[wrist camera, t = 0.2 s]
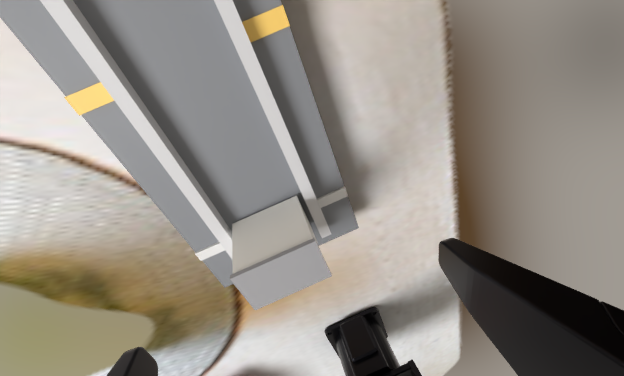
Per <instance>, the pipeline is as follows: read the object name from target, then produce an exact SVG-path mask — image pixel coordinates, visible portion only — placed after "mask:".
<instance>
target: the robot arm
mask: <svg viewBox="0 0 624 376" xmlns="http://www.w3.org/2000/svg"><path fill="white" fill-rule="evenodd" d="M439 264H440V266H441V268H442V270H443V272H444V273H445V275H446V276H447V278H448V280H449V281H450V283H451V284H452V286H453V288H454V289H455V291H456V292H457V294H458V296H459V297H460V299H461V300H462V302H463V304H464V305H465V306H466V308H467V310H468V311H469V313H470V314H471V315H472V317H473V318H474V319H475V321H476V322H477V323H478V324H479V326H480V327H481V328H482V330H483V331H484V332H485V334H486V335H487V336H488V337H489V339H490V340H491V341H492V343H493V344H494V345H495V346H496V348H497V349H498V350H499V352H500V353H501V354H502V355H503V357H504V358H505V359H506V360H507V362H508V363H509V364H510V366H511V367H512V368H513V369H514V371H515V372H516V373H517V375H518V376H624V310H621V309H619V308H617V307H614V306H612V305H610V304H607V303H605V302H599V300H597V299H595V298H593V297H591V296H588V295H586V294H583V293H581V292H579V291H577V290H574V289H572V288H570V287H567V286H565V285H563V284H560V283H557V282H556V281H553V280H551V279H549V278H546V277H544V276H541V275H539V274H537V273H535V272H532V271H530V270H528V269H525V268H523V267H521V266H518V265H516V264H513V263H511V262H509V261H506V260H504V259H502V258H500V257H497V256H495V255H493V254H490V253H488V252H486V251H483V250H481V249H478V248H476V247H474V246H472V245H469V244H467V243H465V242H462V241H460V240H458V239H455V238H449V239H446V240H443V241H441V242H440V243H439ZM325 334H326V336H327V338H328V340H329V341H330V343H331V345H332V346H333V348H334V350H335V351H336V353H337V355H338V356H339V358H340V360H341V363H342V366H343V369H344V372H345V375H346V376H422V375H421V373H420V372H419V370H418V368H417V367H416V365H415V363H414V361H413V360H410V361H408V363H406V364H404V365H402V366H400V365H399V363H398V361H397V359H396V357H395V355H394V353H393V351H392V349H391V347H390V345H389V343H388V341H387V339H386V338H387V337H388V336H387V333H386V330H385V328H384V325H383V322H382V319H381V317H380V314H379V311H378V309H377V308H376V307H373V308H371V309H368V310H366V311H364V312H362V313H360V314H357V315H355V316H353V317H351V318H348V319H346V320H344V321H342V322H340V323H337V324H335V325H333V326H331V327H329V328H327V329H326V330H325ZM107 376H158V366H157V363H156V361H155V359H154V358H153V357H152V356H151V355H150V354H149V353H148V352H147V351H146V350H145V349H144V348H143V347H137V348H134V349H131V350H128V351H126V352H125V353H123V355H122V356H121V357H120V359H119V360H118V361H117V362H116V364H115V365H114V366H113V368H112V369H111V370H110V372H109V373H108V374H107Z"/></svg>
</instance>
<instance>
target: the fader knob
mask: <svg viewBox="0 0 624 376" xmlns="http://www.w3.org/2000/svg"><path fill="white" fill-rule="evenodd" d="M232 265H233V274H231V275H230V280H231V281H232V282H233V283H234V285H235V286H236V287H237V288H238V290H239V291H240V292H241V293H242V295H243V296H244V297H245V298H246V300H247V301H248V302H249V304H250V305H251V306H252V307H253V309H254V310H257V309H259V308H262V307H264V306H266V305H268V304H271V303H273V302H275V301H277V300H279V299H282V298H284V297H286V296H288V295H291V294H293V293H295V292H297V291H300V290H302V289H304V288H306V287H309V286H311V285H313V284H315V283H317V282H320V281H322V280H324V279H326V278H329V277H331V276H332V275H331V272H330V270H329V268H328V266H327V264H326V262H325V260H324V257H323V255H322V253H321V251H320V248H319V246H318V243H317V241H316V238H315V235H314V233H313V230H312V228H311V225H310V223H309V221H308V219H307V217H306V214H305V212H304V210H303V208H302V206H301V204H300V202H299V200H298V197H297V196H294V197H292V198H290V199H288V200H285V201H283V202H281V203H278V204H276V205H274V206H272V207H269V208H267V209H265V210H263V211H260V212H258V213H256V214H253V215H251V216H249V217H247V218H244V219H242V220H240V221H238V222H235V223H233V224H232Z"/></svg>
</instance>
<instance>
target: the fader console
mask: <svg viewBox="0 0 624 376" xmlns="http://www.w3.org/2000/svg"><path fill="white" fill-rule="evenodd" d="M0 18H1V19H2V20H3V21H4V22H5V24H6V25H7V26H8V27H9V28H10V30H11V31H12V32H13V33H14V34H15V36H16V37H17V38H18V39H19V41H20V42H21V43H22V44H23V45H24V47H25V48H26V49H27V50H28V51H29V53H30V54H31V55H32V56H33V57H34V59H35V60H36V61H37V62H38V63H39V65H40V66H41V67H42V68H43V69H44V71H45V72H46V73H47V74H48V75H49V77H50V78H51V79H52V80H53V81H54V83H55V84H56V85H57V86H58V87H59V89H60V90H61V91H62V92H63V93H64V95H65V96H66V97H64V98H65V99H66V100H67V101H68V103H69V104H70V105H71V106H72V107H73V109H74V110H75V111H76V112H77V113H78V115H82V116H83V118H84V119H85V120H86V121H87V122H88V124H89V125H90V126H91V127H92V128H93V130H94V131H95V132H96V133H97V134H98V136H99V137H100V138H101V139H102V140H103V142H104V143H105V144H106V145H107V146H108V148H109V149H110V150H111V151H112V152H113V154H114V155H115V156H116V157H117V158H118V160H119V161H120V162H121V163H122V165H123V166H124V167H125V168H126V169H127V171H128V172H129V173H130V174H131V175H132V177H133V178H134V179H135V180H136V181H137V183H138V184H139V185H140V186H141V187H142V189H143V190H144V191H145V192H146V193H147V195H148V196H149V197H150V198H151V199H152V201H153V202H154V203H155V204H156V205H157V207H158V208H159V209H160V210H161V211H162V213H163V214H164V215H165V216H166V217H167V219H168V220H169V221H170V222H171V224H172V225H173V226H174V227H175V228H176V230H177V231H178V232H179V233H180V234H181V236H182V237H183V238H184V239H185V240H186V242H187V243H188V244H189V245H190V246H191V248H192V249H193V250H194V251H195V255H196V256H197V257H198V258H199V259H200V261H203V262H204V263H205V264H206V266H207V267H208V268H209V269H210V270H211V272H212V273H213V274H214V275H215V276H216V278H217V279H218V280H219V281H220V282H221V284H222V285H223V286H224V287H227V286H229V285H231V284H234V283H233V282H232V281H231V280H230V275H231V274H233V265H232V224H233V223H235V222H238V221H240V220H242V219H244V218H247V217H249V216H251V215H253V214H256V213H258V212H260V211H263V210H265V209H267V208H269V207H272V206H274V205H276V204H278V203H281V202H283V201H285V200H288V199H290V198H292V197H294V196H297V197H298V200H299V202H300V204H301V206H302V208H303V210H304V212H305V214H306V217H307V219H308V221H309V223H310V225H311V228H312V230H313V233H314V235H315V238H316V241H317V243H318V246H319V245H321V244H324V243H326V242H328V241H330V240H333V239H335V238H337V237H339V236H342V235H344V234H346V233H348V232H351V231H353V230H355V229H357V228H359V227H358V224H357V221H356V218H355V215H354V213H353V210H352V207H351V204H350V201H349V198H348V194H347V191H346V188H345V186H344V183H343V180H342V178H341V175H340V172H339V169H338V166H337V163H336V160H335V157H334V154H333V151H332V148H331V146H330V143H329V140H328V137H327V134H326V131H325V128H324V125H323V122H322V119H321V116H320V114H319V111H318V108H317V105H316V102H315V99H314V96H313V93H312V90H311V87H310V84H309V82H308V79H307V76H306V73H305V70H304V67H303V64H302V61H301V58H300V55H299V52H298V49H297V47H296V44H295V41H294V38H293V35H292V32H291V29H290V24H289V21H288V19H287V16H286V13H285V10H284V7H283V5H282V3H281V0H0Z"/></svg>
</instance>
